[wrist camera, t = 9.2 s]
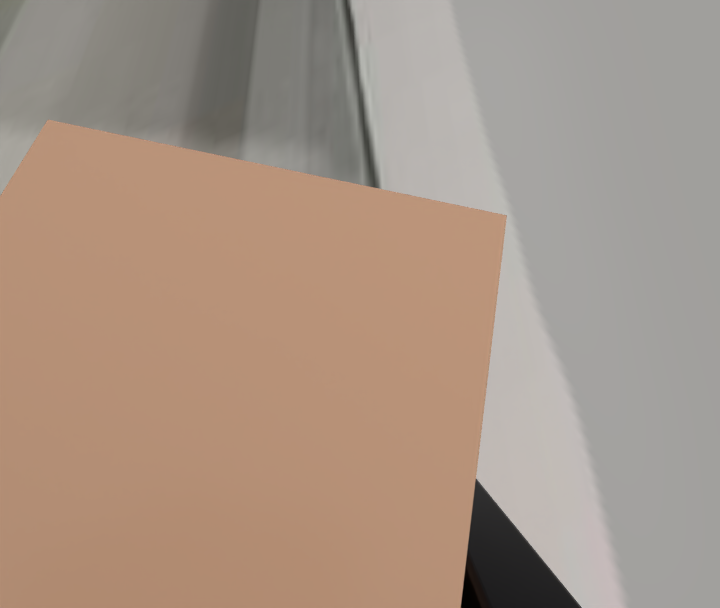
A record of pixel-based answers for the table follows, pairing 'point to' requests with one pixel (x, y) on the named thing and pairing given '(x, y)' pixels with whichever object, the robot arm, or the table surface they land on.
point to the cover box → (235, 382)
